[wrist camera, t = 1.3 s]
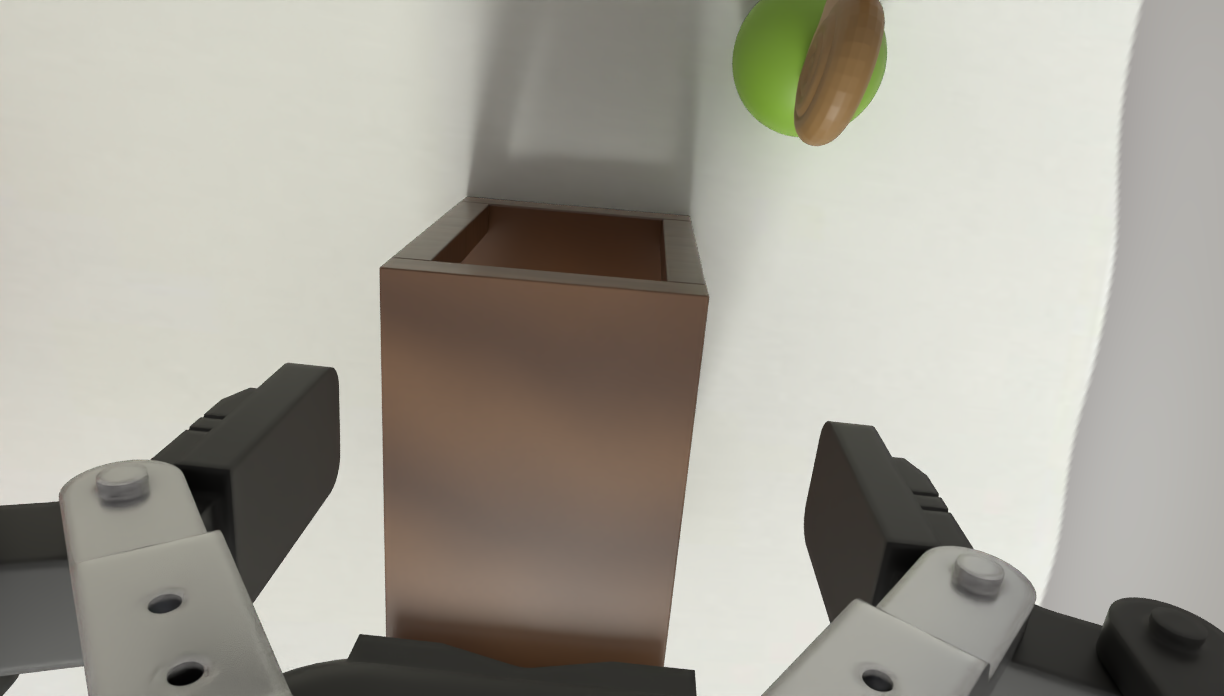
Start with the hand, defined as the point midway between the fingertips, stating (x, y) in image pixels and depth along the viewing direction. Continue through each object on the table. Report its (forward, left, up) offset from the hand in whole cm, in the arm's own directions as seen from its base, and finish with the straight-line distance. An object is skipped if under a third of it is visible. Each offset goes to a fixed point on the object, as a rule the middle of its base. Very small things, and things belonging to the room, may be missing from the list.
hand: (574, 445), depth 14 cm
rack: (+8, -2, -23) cm, 24 cm away
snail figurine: (-7, +7, -23) cm, 25 cm away
